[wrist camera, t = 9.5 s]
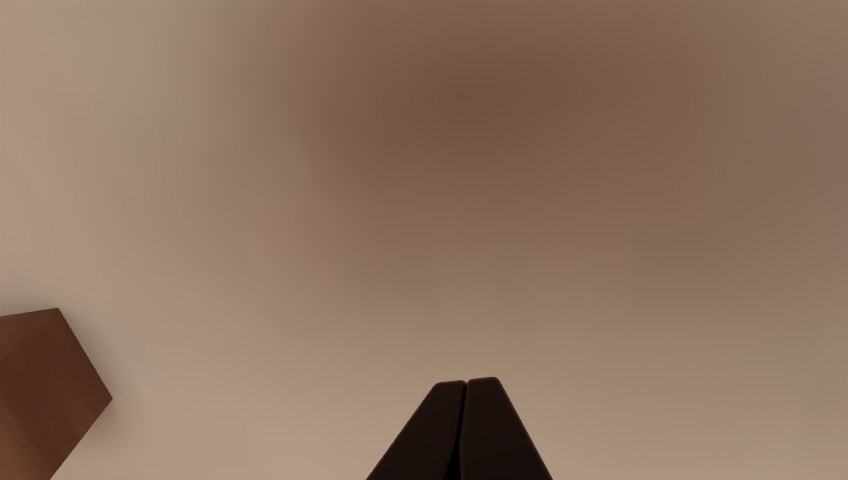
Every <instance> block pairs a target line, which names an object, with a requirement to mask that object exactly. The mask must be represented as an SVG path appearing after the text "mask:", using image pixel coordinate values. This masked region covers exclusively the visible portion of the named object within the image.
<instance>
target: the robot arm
mask: <svg viewBox="0 0 848 480" xmlns="http://www.w3.org/2000/svg"><path fill="white" fill-rule="evenodd" d="M366 480H553V479H552V477H551V475H550V473H549V471H548V470H547V468H546V466H545V464H544V462H543V460H542V458H541V457H540V455H539V453H538V451H537V449H536V447H535V445H534V444H533V442H532V440H531V438H530V436H529V434H528V432H527V431H526V429H525V427H524V425H523V423H522V421H521V419H520V418H519V416H518V414H517V412H516V410H515V408H514V406H513V405H512V403H511V401H510V399H509V397H508V395H507V393H506V392H505V390H504V388H503V386H502V384H501V382H500V381H499V379H498V378H496V377H486V378H477V379H470V380H469V381H468V382H467V383H466V382H465V381H463V380H457V381H448V382H440V383H437V384H436V385H434V386H433V387H432V389H431V390H430V392H429V393H428V394H427V396H426V397H425V399H424V400H423V401H422V403H421V404H420V405H419V407H418V408H417V410H416V411H415V412H414V414H413V415H412V417H411V418H410V419H409V421H408V422H407V424H406V425H405V426H404V428H403V429H402V430H401V432H400V433H399V435H398V436H397V437H396V439H395V440H394V442H393V443H392V444H391V446H390V447H389V448H388V450H387V451H386V453H385V454H384V455H383V457H382V458H381V460H380V461H379V462H378V464H377V465H376V467H375V468H374V469H373V471H372V472H371V473H370V475H369V476H368V478H367V479H366Z"/></svg>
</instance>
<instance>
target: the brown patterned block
mask: <svg viewBox="0 0 848 480" xmlns="http://www.w3.org/2000/svg"><path fill="white" fill-rule="evenodd" d="M112 399H113V398H112V397H111V395H110V393H109V392H108V390H107V388H106V387H105V385H104V383H103V382H102V380H101V378H100V377H99V375H98V373H97V372H96V370H95V368H94V367H93V365H92V363H91V362H90V360H89V358H88V357H87V355H86V353H85V352H84V350H83V348H82V347H81V345H80V343H79V342H78V340H77V338H76V337H75V335H74V333H73V332H72V330H71V328H70V327H69V325H68V323H67V322H66V320H65V318H64V317H63V315H62V313H61V312H60V310H59V308H53V309H47V310H40V311H34V312H27V313H20V314H14V315H7V316H1V317H0V480H50V479H51V477H52V476H53V475H54V474H55V472H56V471H57V470H58V468H59V467H60V466H61V465H62V463H63V462H64V461H65V459H66V458H67V457H68V456H69V454H70V453H71V452H72V450H73V449H74V448H75V447H76V445H77V444H78V443H79V441H80V440H81V439H82V438H83V436H84V435H85V434H86V432H87V431H88V430H89V429H90V427H91V426H92V425H93V423H94V422H95V421H96V419H97V418H98V417H99V416H100V414H101V413H102V412H103V410H104V409H105V408H106V407H107V405H108V404H109V403H110V401H111V400H112Z"/></svg>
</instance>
